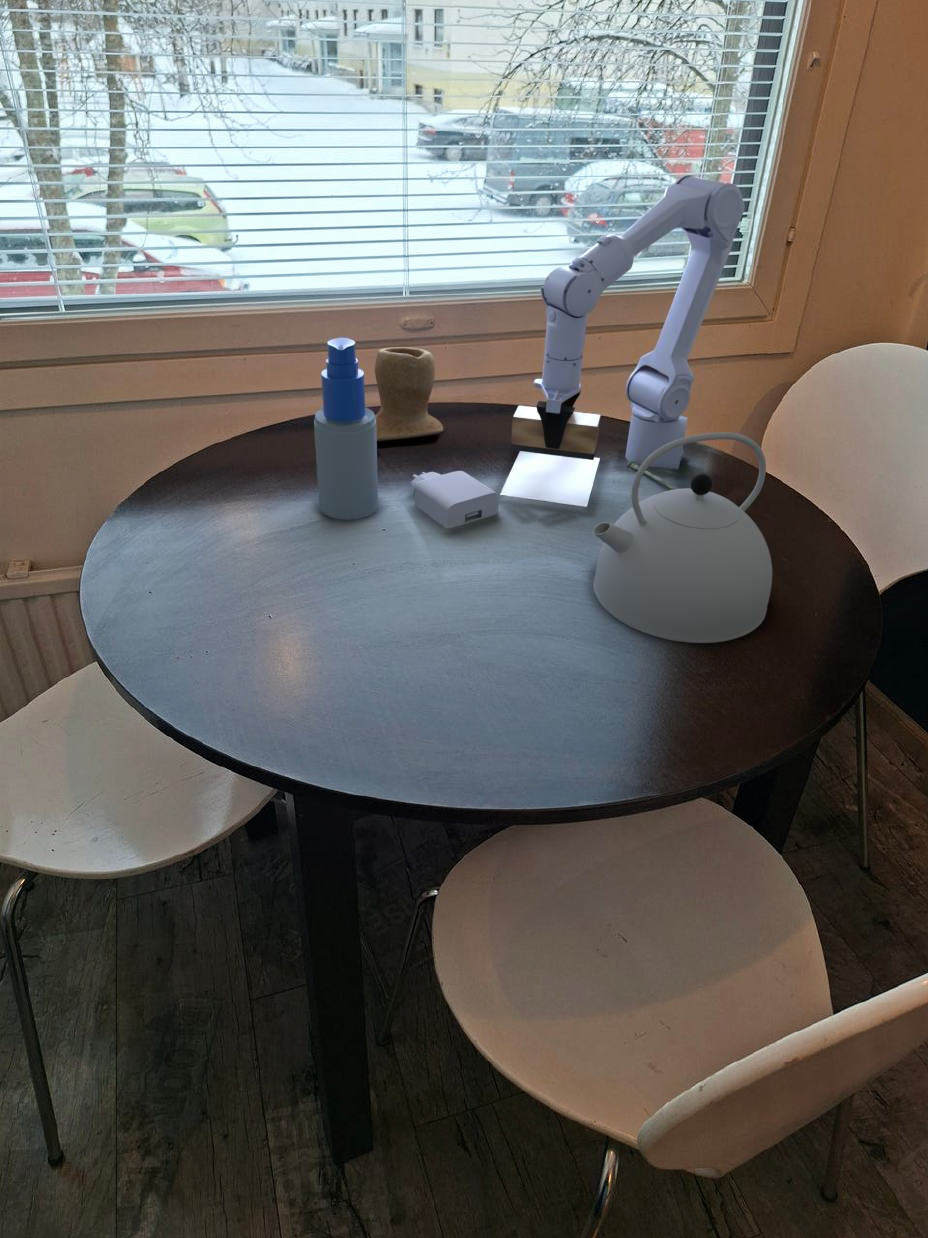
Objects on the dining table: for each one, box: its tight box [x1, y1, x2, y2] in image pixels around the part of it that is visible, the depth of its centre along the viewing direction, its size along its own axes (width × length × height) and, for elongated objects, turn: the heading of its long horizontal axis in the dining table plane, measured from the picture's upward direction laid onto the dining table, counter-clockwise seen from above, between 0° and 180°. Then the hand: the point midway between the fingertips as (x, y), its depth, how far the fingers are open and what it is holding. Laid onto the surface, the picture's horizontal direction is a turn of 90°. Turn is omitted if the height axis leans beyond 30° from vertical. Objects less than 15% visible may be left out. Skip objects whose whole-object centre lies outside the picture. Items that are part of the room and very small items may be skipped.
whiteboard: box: [499, 451, 601, 508], centre depth 143 cm, size 15×20×1 cm
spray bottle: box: [313, 337, 379, 520], centre depth 126 cm, size 9×9×25 cm
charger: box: [409, 470, 500, 530], centre depth 133 cm, size 5×9×15 cm
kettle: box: [592, 431, 773, 644], centre depth 110 cm, size 25×23×22 cm
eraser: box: [510, 405, 602, 460], centre depth 136 cm, size 13×5×6 cm, turn 77°
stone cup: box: [374, 346, 444, 442], centre depth 153 cm, size 15×12×15 cm
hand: (555, 440), depth 137 cm, fingers closed on eraser, 5 cm apart
